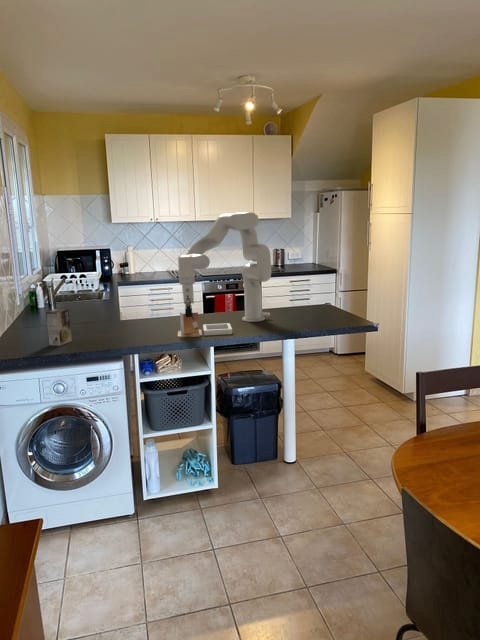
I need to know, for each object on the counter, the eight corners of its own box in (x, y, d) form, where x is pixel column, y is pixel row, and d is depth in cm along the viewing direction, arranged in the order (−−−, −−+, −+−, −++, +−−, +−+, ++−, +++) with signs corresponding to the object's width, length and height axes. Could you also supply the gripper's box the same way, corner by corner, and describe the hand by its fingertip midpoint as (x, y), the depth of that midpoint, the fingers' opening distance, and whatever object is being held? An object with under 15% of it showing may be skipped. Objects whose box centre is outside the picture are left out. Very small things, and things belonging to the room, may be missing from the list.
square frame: (229, 327, 255) (229, 323, 254) (232, 333, 241) (232, 329, 240) (203, 329, 253) (202, 324, 253) (204, 335, 240) (203, 330, 239)
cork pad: (201, 330, 250) (201, 329, 250) (202, 336, 238) (202, 334, 238) (178, 331, 249) (177, 330, 249) (177, 337, 237) (177, 336, 237)
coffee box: (61, 340, 239) (57, 308, 235) (72, 341, 237) (69, 308, 233) (49, 345, 230) (45, 311, 227) (60, 345, 228) (56, 312, 225)
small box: (183, 334, 240) (182, 313, 238) (180, 332, 245) (179, 312, 243) (199, 332, 243) (198, 312, 241) (195, 330, 248) (194, 310, 246)
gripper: (195, 282, 230) (196, 317, 234) (194, 278, 247) (196, 311, 251) (179, 283, 229) (181, 318, 233) (179, 279, 246) (181, 312, 250)
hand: (188, 314), depth 242 cm, fingers open, 9 cm apart
